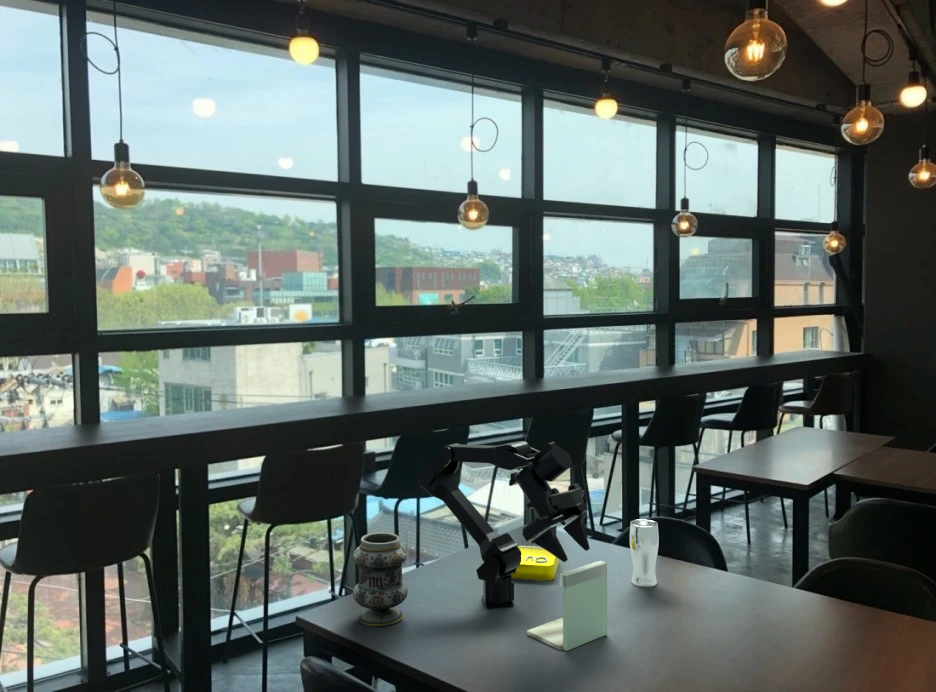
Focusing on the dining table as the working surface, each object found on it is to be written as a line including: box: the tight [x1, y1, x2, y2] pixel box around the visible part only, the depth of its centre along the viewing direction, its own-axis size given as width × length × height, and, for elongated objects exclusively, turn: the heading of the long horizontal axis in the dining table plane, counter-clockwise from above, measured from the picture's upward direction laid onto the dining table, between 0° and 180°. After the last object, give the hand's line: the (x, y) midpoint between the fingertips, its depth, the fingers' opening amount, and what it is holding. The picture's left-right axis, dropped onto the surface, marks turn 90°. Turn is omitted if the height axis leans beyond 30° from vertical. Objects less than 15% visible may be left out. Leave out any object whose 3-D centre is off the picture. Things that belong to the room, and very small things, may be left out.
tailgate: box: [559, 560, 608, 651], centre depth 151 cm, size 2×12×15 cm, turn 128°
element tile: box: [511, 545, 560, 581], centre depth 195 cm, size 15×15×5 cm
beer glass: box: [629, 518, 660, 588], centre depth 184 cm, size 7×7×15 cm
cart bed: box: [526, 616, 564, 651], centre depth 156 cm, size 10×13×1 cm
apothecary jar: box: [352, 532, 409, 627], centre depth 164 cm, size 12×12×18 cm
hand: (577, 555), depth 159 cm, fingers open, 9 cm apart
